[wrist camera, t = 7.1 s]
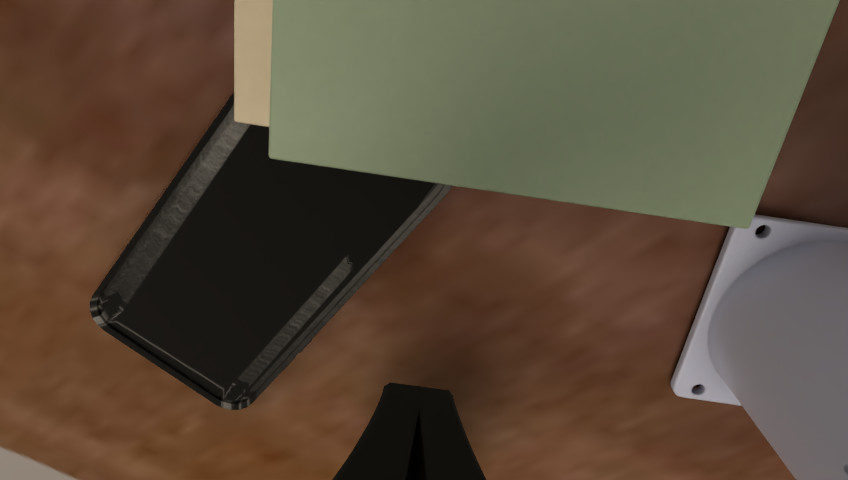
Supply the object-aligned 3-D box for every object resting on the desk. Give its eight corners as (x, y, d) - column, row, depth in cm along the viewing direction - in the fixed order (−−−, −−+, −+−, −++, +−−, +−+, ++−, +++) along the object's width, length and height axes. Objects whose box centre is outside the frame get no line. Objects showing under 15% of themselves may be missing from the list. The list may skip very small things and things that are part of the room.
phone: (79, 314, 22) (289, 12, 17) (96, 300, 23) (298, 11, 18) (239, 420, 24) (472, 172, 19) (248, 403, 25) (471, 163, 20)
